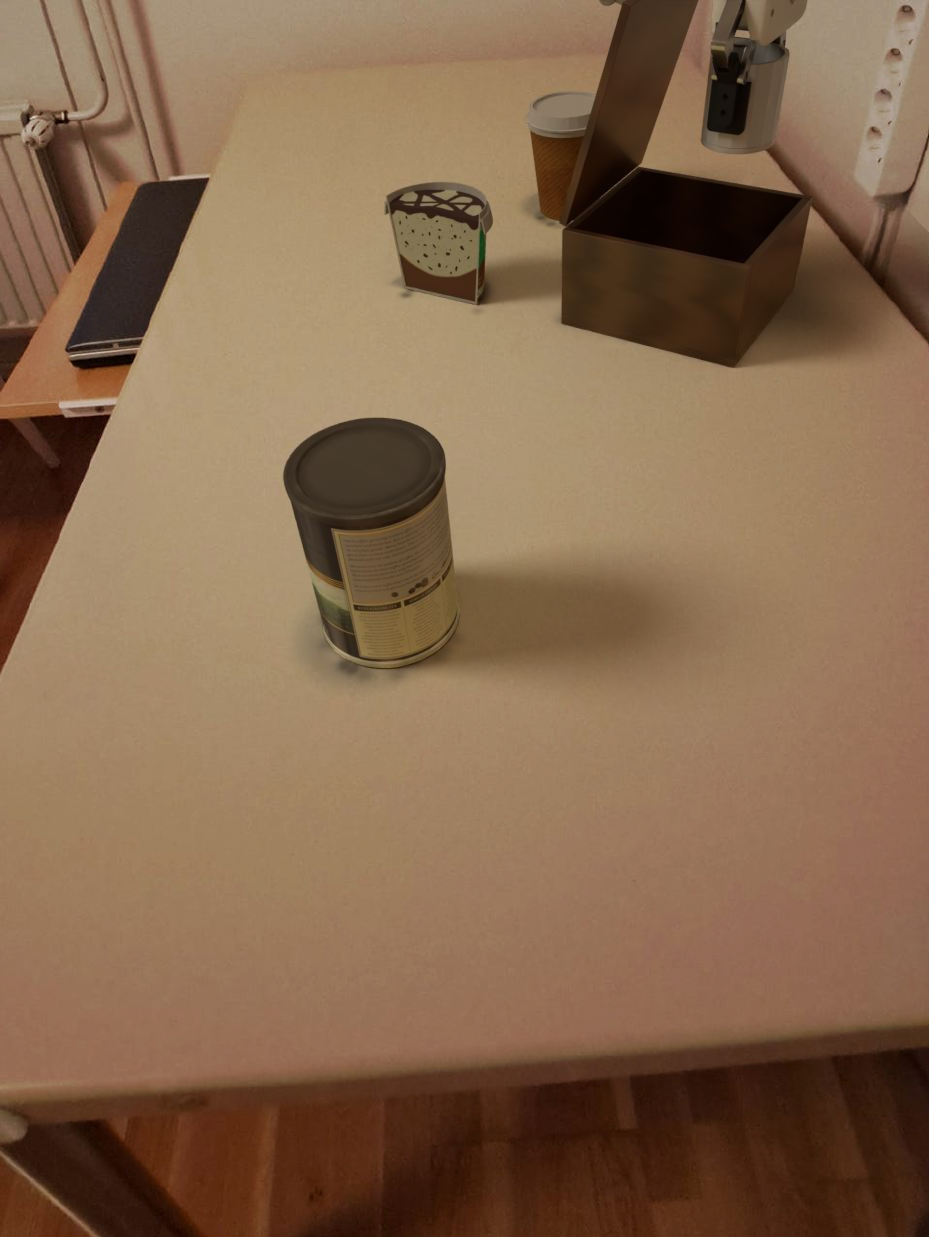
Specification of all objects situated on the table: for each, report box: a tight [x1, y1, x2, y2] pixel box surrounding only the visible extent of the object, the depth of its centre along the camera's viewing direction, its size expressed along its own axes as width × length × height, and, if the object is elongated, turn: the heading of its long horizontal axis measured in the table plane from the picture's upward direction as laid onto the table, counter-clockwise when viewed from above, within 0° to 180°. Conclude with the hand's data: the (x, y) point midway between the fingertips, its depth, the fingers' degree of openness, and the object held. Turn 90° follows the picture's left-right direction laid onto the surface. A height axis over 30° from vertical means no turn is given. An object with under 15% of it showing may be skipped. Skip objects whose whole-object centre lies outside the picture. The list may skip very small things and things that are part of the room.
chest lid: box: [558, 0, 699, 228], centre depth 86 cm, size 19×17×5 cm
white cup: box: [700, 41, 791, 155], centre depth 81 cm, size 6×6×7 cm
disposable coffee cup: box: [525, 90, 596, 221], centre depth 111 cm, size 10×10×12 cm
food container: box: [383, 181, 494, 306], centre depth 100 cm, size 12×6×10 cm, turn 59°
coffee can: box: [282, 416, 460, 669], centre depth 64 cm, size 10×10×14 cm
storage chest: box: [560, 166, 813, 368], centre depth 94 cm, size 19×17×10 cm
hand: (741, 115), depth 82 cm, fingers closed on white cup, 6 cm apart
